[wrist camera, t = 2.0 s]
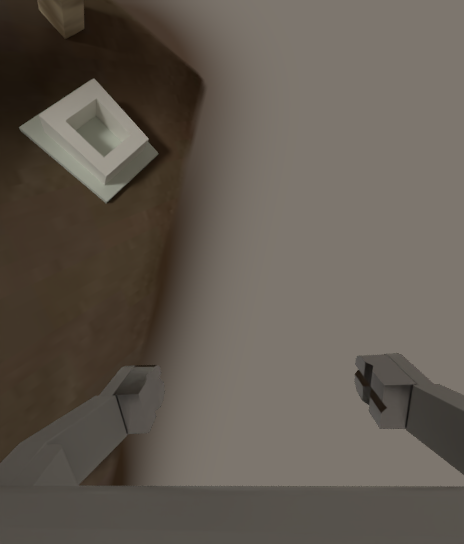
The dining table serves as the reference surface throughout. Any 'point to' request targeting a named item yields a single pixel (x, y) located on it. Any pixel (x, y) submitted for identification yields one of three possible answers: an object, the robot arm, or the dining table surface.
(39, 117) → the white socket base
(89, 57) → the dining table surface
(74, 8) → the tan tall wooden block
